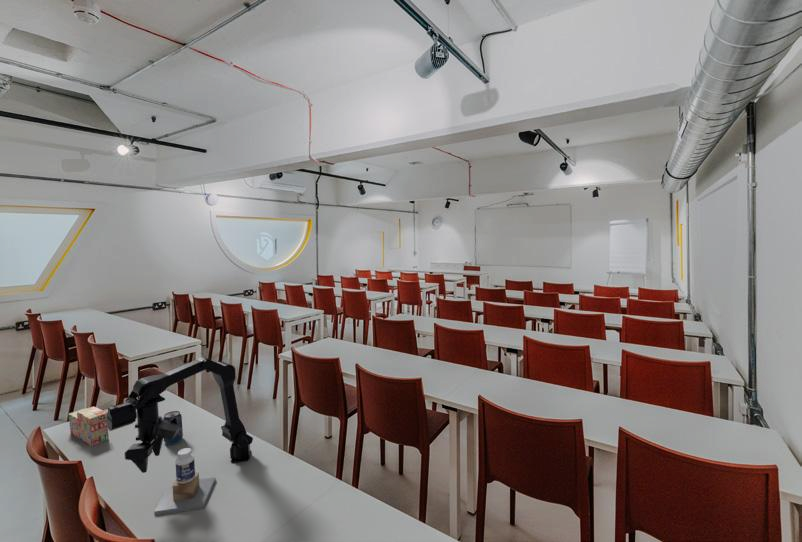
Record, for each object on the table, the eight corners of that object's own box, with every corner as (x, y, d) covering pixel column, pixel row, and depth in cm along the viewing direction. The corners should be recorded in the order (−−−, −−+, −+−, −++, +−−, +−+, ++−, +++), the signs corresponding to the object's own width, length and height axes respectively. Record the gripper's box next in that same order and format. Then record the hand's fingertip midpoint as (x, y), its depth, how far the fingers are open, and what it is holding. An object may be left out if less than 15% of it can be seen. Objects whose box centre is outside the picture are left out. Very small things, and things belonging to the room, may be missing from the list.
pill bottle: (182, 486, 120) (180, 457, 119) (173, 480, 123) (171, 452, 122) (198, 477, 124) (197, 449, 123) (189, 472, 127) (188, 444, 126)
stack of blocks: (69, 433, 165) (67, 407, 164) (87, 427, 171) (85, 401, 169) (91, 446, 155) (89, 418, 153) (109, 439, 160) (107, 412, 159)
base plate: (215, 480, 132) (215, 477, 132) (203, 508, 119) (202, 504, 118) (172, 485, 129) (172, 482, 129) (154, 515, 116) (154, 511, 116)
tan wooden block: (199, 486, 127) (198, 472, 127) (193, 497, 122) (192, 483, 121) (180, 488, 126) (179, 474, 126) (173, 500, 120) (172, 486, 120)
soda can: (183, 442, 157) (182, 414, 156) (164, 447, 154) (162, 419, 152) (182, 435, 163) (180, 408, 162) (163, 439, 159) (162, 413, 158)
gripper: (163, 429, 112) (166, 478, 113) (186, 402, 130) (188, 445, 131) (122, 433, 110) (125, 483, 111) (150, 405, 128) (153, 449, 129)
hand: (151, 463), depth 121 cm, fingers open, 9 cm apart
